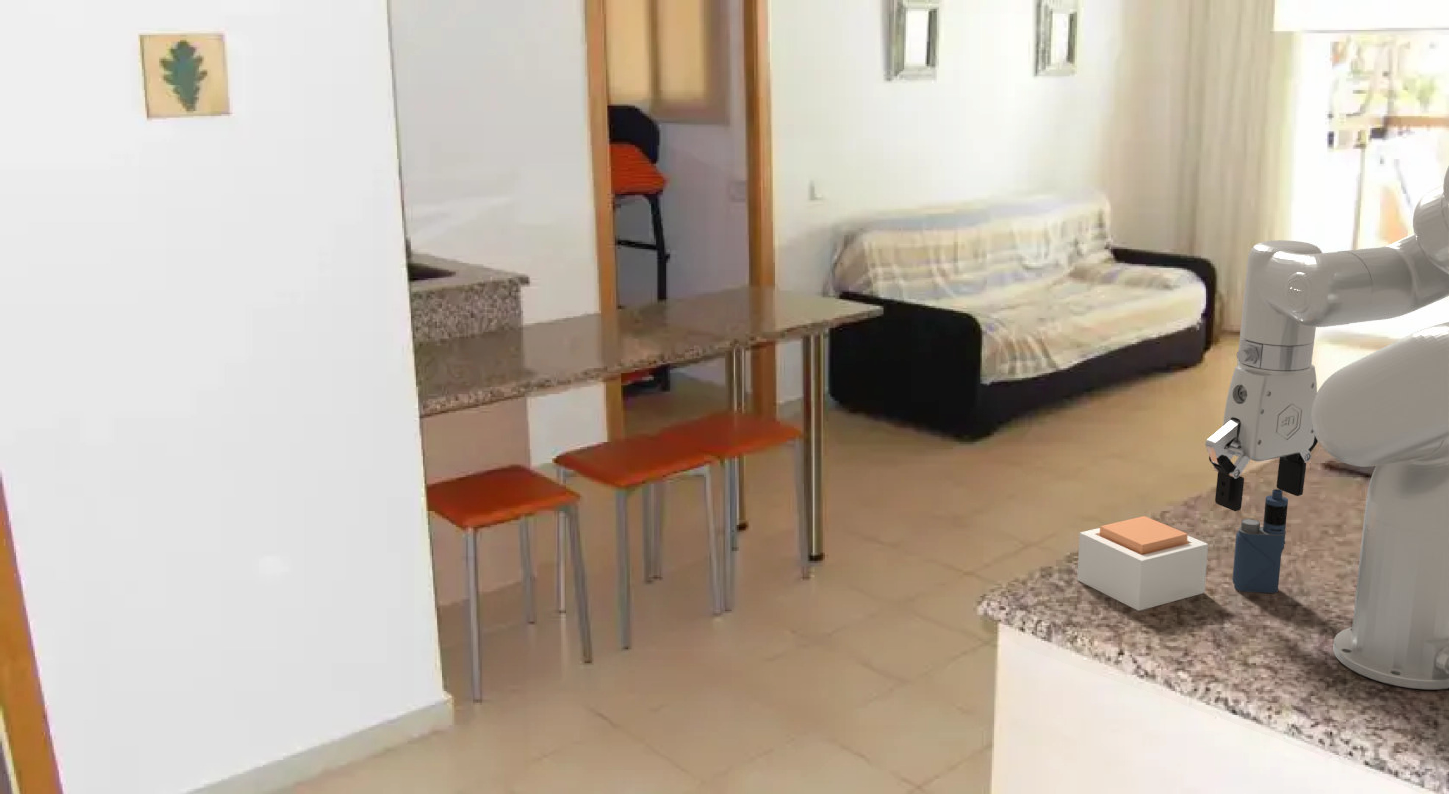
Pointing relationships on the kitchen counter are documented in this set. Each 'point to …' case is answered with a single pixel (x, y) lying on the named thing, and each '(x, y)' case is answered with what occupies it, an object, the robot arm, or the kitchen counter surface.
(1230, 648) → the kitchen counter surface
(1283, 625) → the kitchen counter surface
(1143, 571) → the white hollow square box
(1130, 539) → the plunger
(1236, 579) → the vaping device
